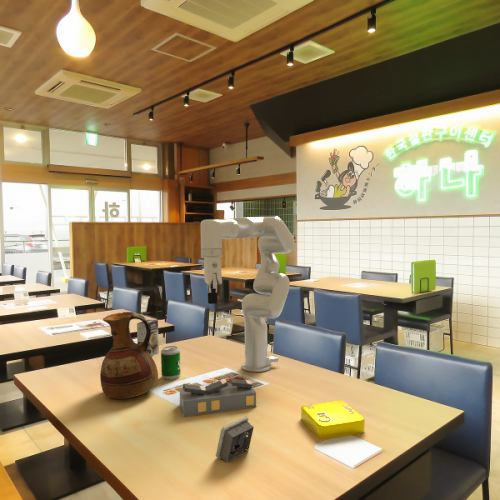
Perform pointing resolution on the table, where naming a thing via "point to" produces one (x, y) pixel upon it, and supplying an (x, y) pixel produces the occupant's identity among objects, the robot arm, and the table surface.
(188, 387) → the rocker
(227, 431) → the electrical switch
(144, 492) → the table surface
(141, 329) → the coffee box
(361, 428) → the element tile
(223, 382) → the block
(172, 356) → the soda can
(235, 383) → the rocker
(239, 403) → the switch housing
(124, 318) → the ceramic pitcher
